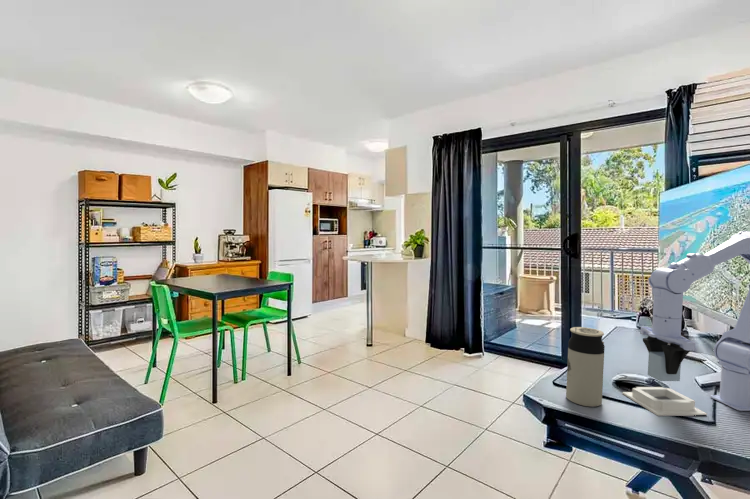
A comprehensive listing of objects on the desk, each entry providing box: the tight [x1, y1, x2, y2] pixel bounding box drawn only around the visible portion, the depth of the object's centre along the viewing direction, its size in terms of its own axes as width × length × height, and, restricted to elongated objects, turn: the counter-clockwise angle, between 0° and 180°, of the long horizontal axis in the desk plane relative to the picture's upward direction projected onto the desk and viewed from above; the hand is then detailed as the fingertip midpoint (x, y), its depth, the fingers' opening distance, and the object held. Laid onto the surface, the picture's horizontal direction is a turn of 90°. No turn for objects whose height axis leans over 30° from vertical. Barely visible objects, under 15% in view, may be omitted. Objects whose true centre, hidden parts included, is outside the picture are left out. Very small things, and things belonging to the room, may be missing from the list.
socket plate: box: [621, 386, 708, 417], centre depth 95 cm, size 12×12×2 cm
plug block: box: [647, 352, 682, 382], centre depth 95 cm, size 5×4×6 cm
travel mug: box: [565, 326, 606, 408], centre depth 96 cm, size 8×8×18 cm
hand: (663, 370), depth 95 cm, fingers closed on plug block, 4 cm apart
